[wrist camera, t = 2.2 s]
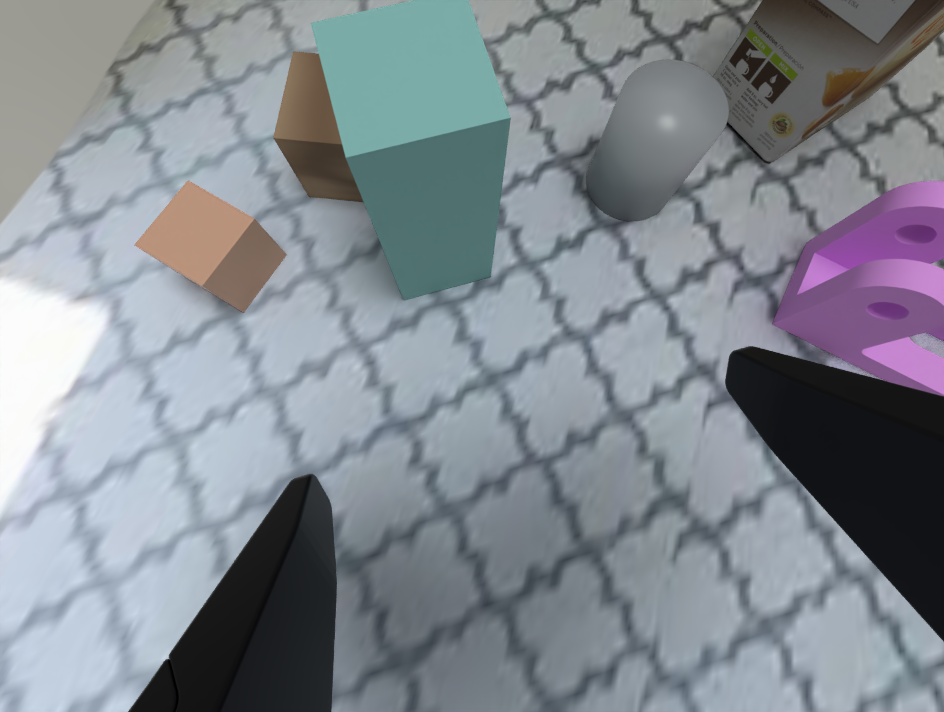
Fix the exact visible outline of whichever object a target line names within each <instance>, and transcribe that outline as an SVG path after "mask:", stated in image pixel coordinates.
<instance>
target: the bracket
mask: <svg viewBox="0 0 944 712" xmlns="http://www.w3.org/2000/svg"><path fill="white" fill-rule="evenodd" d="M943 258H944V181H923V182H915V183H910V184H906V185H903V186H899V187H897V188H894V189H892V190H890V191H888V192H886V193H885V194H883V195H881V196H880V197H878V198H877V199H875V200H874V201H872V202H870V203H869V204H867V205H866V206H864V207H862V208H861V209H859V210H858V211H856V212H855V213H853V214H851V215H850V216H848V217H847V218H845V219H843V220H842V221H840V222H839V223H837V224H835V225H834V226H832V227H831V228H829V229H828V230H826V231H824V232H823V233H821V234H820V235H818V236H816V237H815V238H813V239H812V240H810V241H809V242H807V243H806V245H805V247H804V250H803V252H802V254H801V257H800V259H799V262H798V264H797V266H796V269H795V271H794V273H793V276H792V278H791V280H790V283H789V285H788V288H787V290H786V292H785V295H784V297H783V299H782V302H781V304H780V306H779V309H778V311H777V314H776V316H775V318H774V321H773V323H772V324H773V325H775V326H777V327H779V328H781V329H783V330H785V331H787V332H789V333H791V334H793V335H795V336H797V337H799V338H801V339H803V340H805V341H807V342H809V343H811V344H813V345H815V346H817V347H819V348H821V349H823V350H825V351H827V352H829V353H831V354H833V355H835V356H837V357H839V358H841V359H843V360H845V361H847V362H849V363H851V364H853V365H855V366H857V367H859V368H861V369H863V370H865V371H867V372H869V373H871V374H873V375H875V376H877V377H879V378H881V379H883V380H885V381H887V382H891V383H895V384H899V385H902V386H906V387H910V388H914V389H918V390H921V391H925V392H929V393H933V394H937V395H941V396H944V358H942V357H940V356H938V355H936V354H934V353H932V352H930V351H928V350H926V349H924V348H922V347H920V346H918V345H916V344H915V343H914V342H913V341H912V340H911V339H910V338H909V337H910V336H913V335H917V334H921V333H924V332H926V333H929V334H931V335H933V336H935V337H937V338H939V339H941V340H943V341H944V270H943V269H941V268H939V267H937V266H934V265H931V263H934V262H936V261H938V260H941V259H943Z"/></svg>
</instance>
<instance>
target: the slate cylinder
mask: <svg viewBox="0 0 944 712" xmlns="http://www.w3.org/2000/svg"><path fill="white" fill-rule="evenodd" d="M728 114H729V108H728V102H727V98H726V95H725V93H724V91H723V89H722V88H721V86H720V85H719V83H718V82H717V81H716V80H715V79H714V78H713V77H712V76H711V75H710V74H709V73H707V72H706V71H704V70H703V69H701V68H699V67H697V66H695V65H693V64H690V63H687V62H684V61H678V60H659V61H654V62H650V63H648V64H645V65H643V66H641V67H639V68H638V69H637V70H635V71H634V72H633V73H632V74H631V75H630V76H629V77H628V78H627V80H626V81H625V83H624V85H623V87H622V89H621V92H620V94H619V97H618V99H617V101H616V104H615V106H614V109H613V111H612V113H611V116H610V118H609V121H608V123H607V125H606V128H605V130H604V132H603V135H602V137H601V140H600V142H599V144H598V147H597V149H596V152H595V154H594V156H593V159H592V161H591V164H590V166H589V168H588V171H587V176H586V185H587V190H588V193H589V195H590V197H591V199H592V201H593V202H594V203H595V205H596V206H597V207H598V208H599V209H600V210H601V211H603V212H604V213H606V214H607V215H609V216H611V217H613V218H616V219H619V220H623V221H640V220H645V219H648V218H650V217H652V216H654V215H655V214H657V213H658V212H659V211H661V209H662V208H663V207H664V206H665V205H666V203H667V202H668V201H669V200H670V198H671V197H672V196H673V195H674V193H675V192H676V191H677V189H678V188H679V187H680V186H681V184H682V183H683V182H684V181H685V179H686V178H687V177H688V175H689V174H690V173H691V172H692V170H693V169H694V168H695V166H696V165H697V164H698V163H699V161H700V160H701V159H702V158H703V156H704V155H705V154H706V152H707V151H708V150H709V149H710V147H711V146H712V145H713V144H714V142H715V141H716V140H717V138H718V137H719V136H720V135H721V133H722V132H723V130H724V128H725V126H726V124H727V120H728Z"/></svg>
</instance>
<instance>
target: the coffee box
mask: <svg viewBox="0 0 944 712" xmlns="http://www.w3.org/2000/svg"><path fill="white" fill-rule="evenodd" d="M943 32H944V0H763V1H762V2H761V4H760V5H759V7H758V8H757V10H756V11H755V13H754V15H753V16H752V18H751V19H750V21H749V22H748V24H747V25H746V27H745V28H744V30H743V31H742V33H741V34H740V36H739V37H738V39H737V40H736V42H735V44H734V45H733V47H732V48H731V49H730V51H729V53H728V54H727V56H726V57H725V59H724V60H723V62H722V64H721V65H720V67H719V68H718V70H717V71H716V73H715V74H714V76H713V78H714V79H715V80H716V81H717V82H718V83H719V85H720V86H721V88H722V89H723V91H724V93H725V95H726V98H727V102H728V108H729V114H728V120H727V122H728V123H729V124H730V125H731V126H732V127H733V128H734V129H735V130H736V131H737V132H738V133H739V134H740V135H741V136H742V137H743V138H744V139H745V140H746V141H747V142H748V144H749V145H750V146H751V147H752V148H753V149H754V150H755V151H756V152H757V153H758V154H759V155H760V156H761V157H762V158H763V159H764V160H765V161H767V162H773V161H774V160H776V159H777V158H779V157H780V156H782V155H784V154H785V153H787V152H788V151H789V150H791V149H792V148H794V147H796V146H797V145H798V144H800V143H801V142H803V141H804V140H806V139H807V138H809V137H810V136H812V135H813V134H815V133H816V132H818V131H819V130H821V129H822V128H824V127H825V126H827V125H828V124H830V123H831V122H833V121H834V120H836V119H837V118H839V117H840V116H842V115H843V114H845V113H846V112H848V111H850V110H851V109H853V108H854V107H855V106H857V105H858V104H860V103H861V102H863V101H864V100H866V99H867V98H869V97H870V96H872V95H873V94H874V93H875V92H876V91H878V90H879V89H880V88H881V87H882V86H883V85H884V84H886V83H887V82H888V81H889V80H890V79H891V78H892V77H893V76H895V75H896V74H897V73H898V72H899V71H900V70H901V69H903V68H904V67H905V66H906V65H907V64H908V63H909V62H910V61H912V60H913V59H914V58H915V57H916V56H917V55H918V54H919V53H921V52H922V51H923V50H924V49H925V48H926V47H927V46H928V45H929V44H930V43H932V42H933V41H934V40H935V39H936V38H937V37H938V36H939V35H941V34H942V33H943Z"/></svg>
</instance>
